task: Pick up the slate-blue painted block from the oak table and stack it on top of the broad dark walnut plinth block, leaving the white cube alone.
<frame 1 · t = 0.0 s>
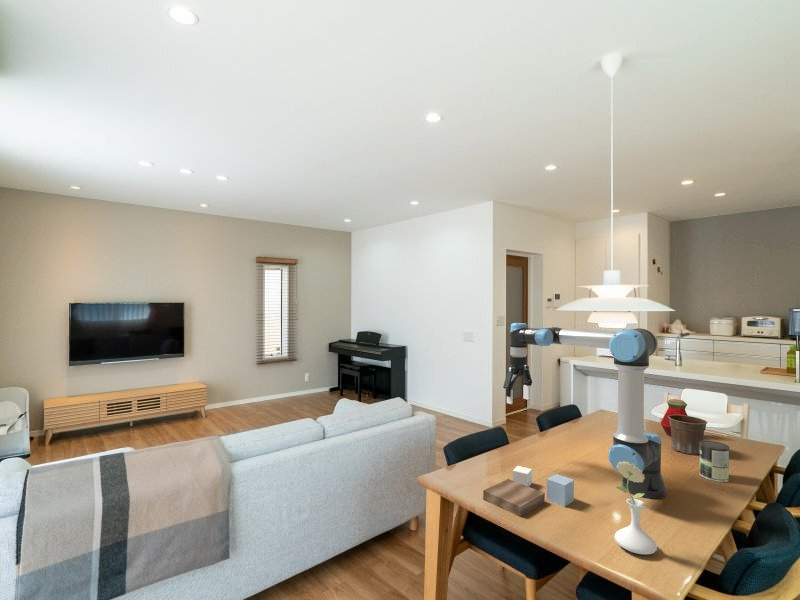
hand: (518, 401, 193), 28 cm above the table, fingers open, 13 cm apart
coffee can: (713, 477, 177), on the table
bottle: (676, 436, 232), on the table
white cube: (522, 484, 169), on the table
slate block: (560, 500, 155), on the table
plant pot: (687, 451, 209), on the table
flower in vase: (633, 546, 127), on the table
walnut block: (513, 502, 155), on the table
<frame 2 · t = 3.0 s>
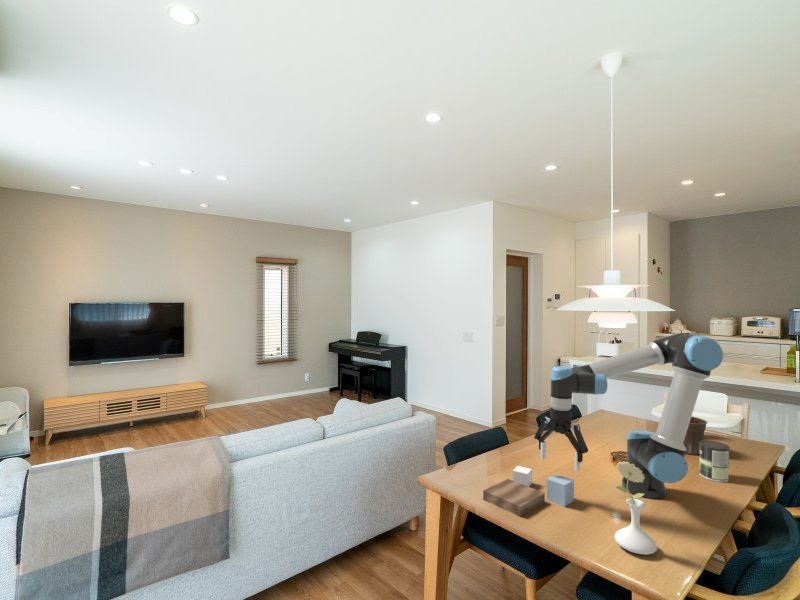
hand: (559, 464, 155), 14 cm above the table, fingers open, 13 cm apart
nothing on the table moved.
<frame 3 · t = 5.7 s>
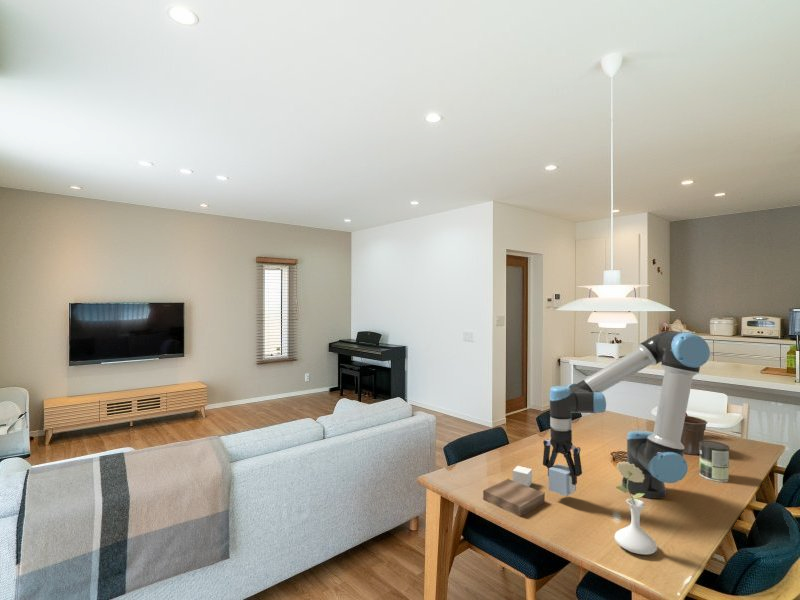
hand: (562, 489, 155), 4 cm above the table, fingers closed on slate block, 7 cm apart
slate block: (562, 490, 155), point 4 cm above the table, touching gripper
everything else where it was.
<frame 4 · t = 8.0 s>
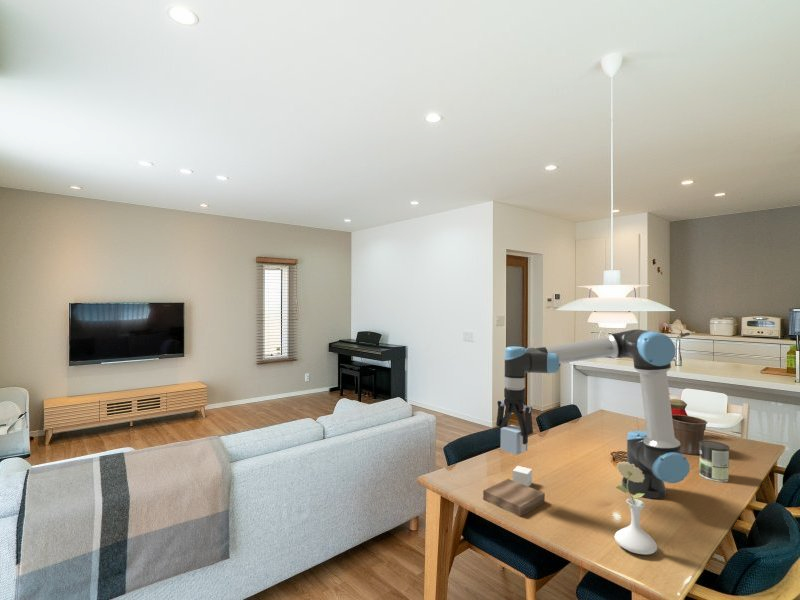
hand: (513, 449, 155), 19 cm above the table, fingers closed on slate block, 7 cm apart
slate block: (513, 450, 155), point 19 cm above the table, touching gripper
everything else where it was.
when the fingers open (4 cm above the table, at t = 10.5 s): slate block stays where it is, point 3 cm above the table.
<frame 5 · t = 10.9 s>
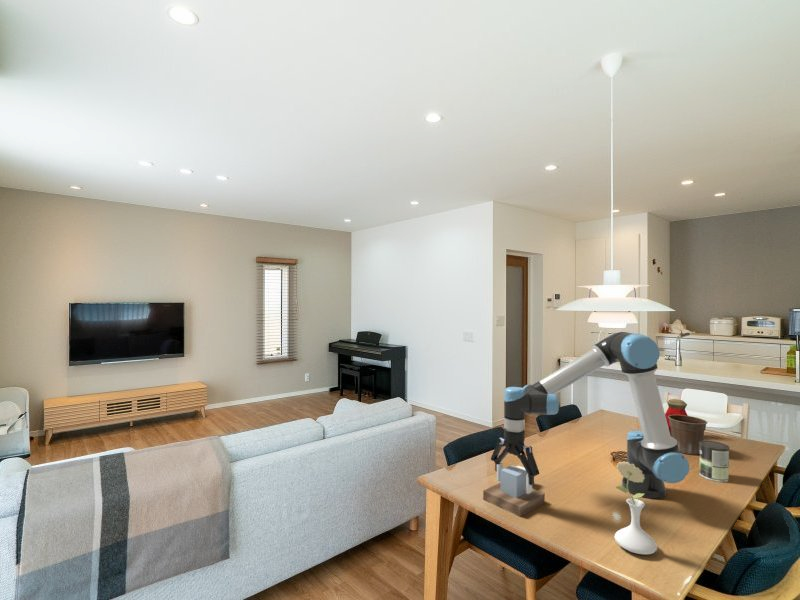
hand: (513, 486, 155), 5 cm above the table, fingers open, 12 cm apart
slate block: (513, 491, 155), point 3 cm above the table
everything else where it was.
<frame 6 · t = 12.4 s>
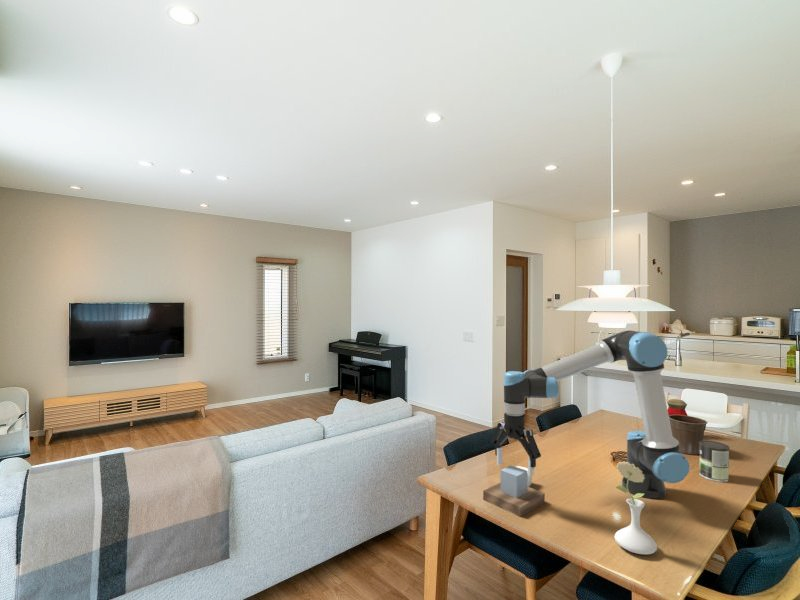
hand: (514, 470, 155), 12 cm above the table, fingers open, 13 cm apart
nothing on the table moved.
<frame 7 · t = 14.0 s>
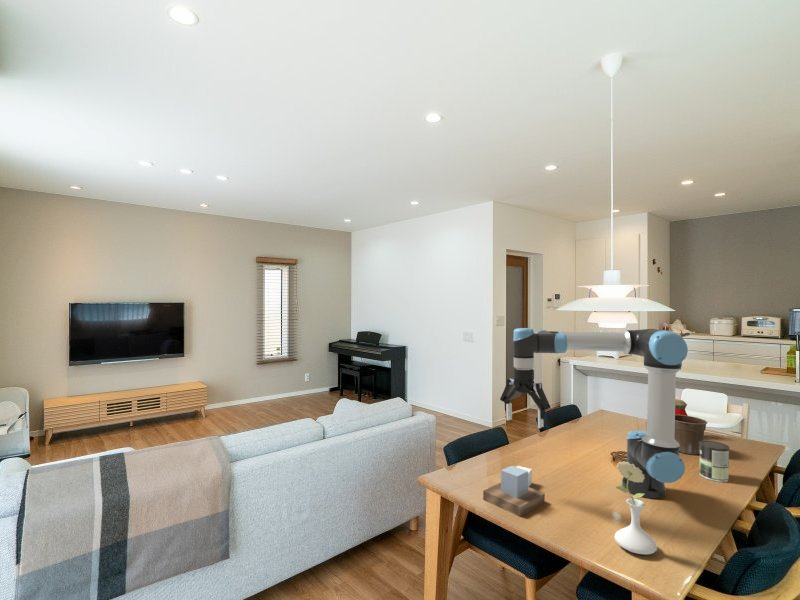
hand: (524, 423, 159), 28 cm above the table, fingers open, 13 cm apart
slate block: (514, 492, 155), point 3 cm above the table, touching walnut block
walnut block: (513, 502, 155), on the table, touching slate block
everything else where it was.
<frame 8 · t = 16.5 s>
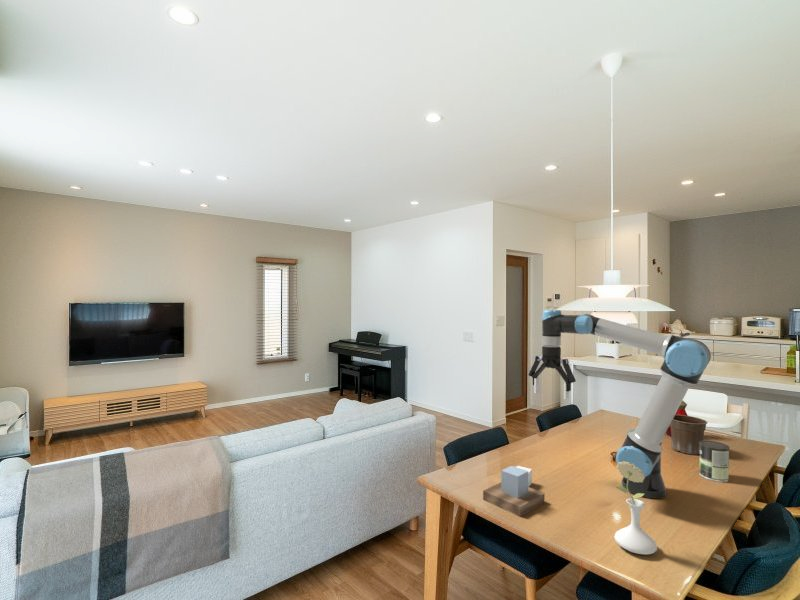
hand: (551, 395, 176), 35 cm above the table, fingers open, 13 cm apart
nothing on the table moved.
at the end: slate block inside the target area on the walnut block (0.3 cm from its centre), point 4.0 cm above the walnut block's base; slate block tilted 0°; the gripper is holding nothing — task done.
